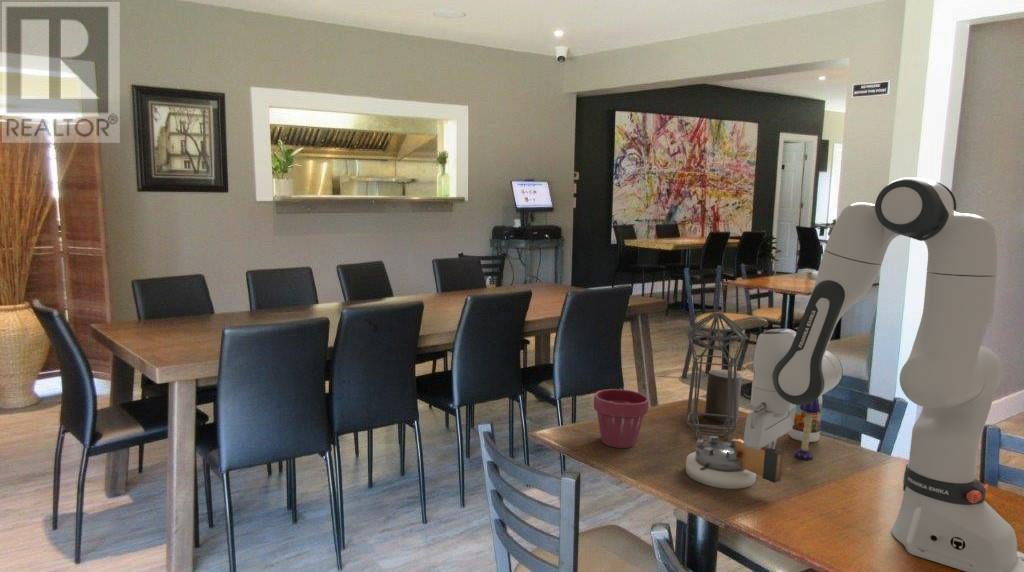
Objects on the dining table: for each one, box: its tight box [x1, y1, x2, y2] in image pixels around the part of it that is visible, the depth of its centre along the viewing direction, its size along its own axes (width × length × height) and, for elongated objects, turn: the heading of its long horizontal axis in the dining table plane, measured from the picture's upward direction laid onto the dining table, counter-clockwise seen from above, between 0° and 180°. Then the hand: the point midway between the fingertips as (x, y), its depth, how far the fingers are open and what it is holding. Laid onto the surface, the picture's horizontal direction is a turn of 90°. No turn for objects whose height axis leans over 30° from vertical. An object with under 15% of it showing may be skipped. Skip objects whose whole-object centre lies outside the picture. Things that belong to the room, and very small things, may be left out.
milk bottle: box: [789, 395, 823, 443], centre depth 193 cm, size 8×8×20 cm
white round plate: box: [685, 451, 757, 490], centre depth 166 cm, size 16×16×3 cm
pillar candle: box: [704, 368, 743, 423], centre depth 209 cm, size 10×10×15 cm
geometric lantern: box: [685, 311, 749, 442], centre depth 191 cm, size 16×16×35 cm
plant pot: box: [593, 388, 649, 449], centre depth 185 cm, size 14×14×13 cm
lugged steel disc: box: [695, 435, 784, 484], centre depth 162 cm, size 21×12×7 cm, turn 36°
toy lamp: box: [794, 398, 820, 461], centre depth 178 cm, size 5×5×17 cm
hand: (766, 457), depth 159 cm, fingers closed
